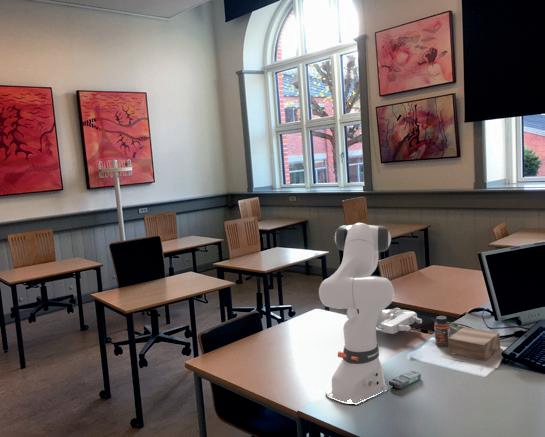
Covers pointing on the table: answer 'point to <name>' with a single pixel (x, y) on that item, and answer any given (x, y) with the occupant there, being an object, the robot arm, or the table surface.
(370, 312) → the robot arm
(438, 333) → the supplement bottle
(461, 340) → the walnut block
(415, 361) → the table surface
